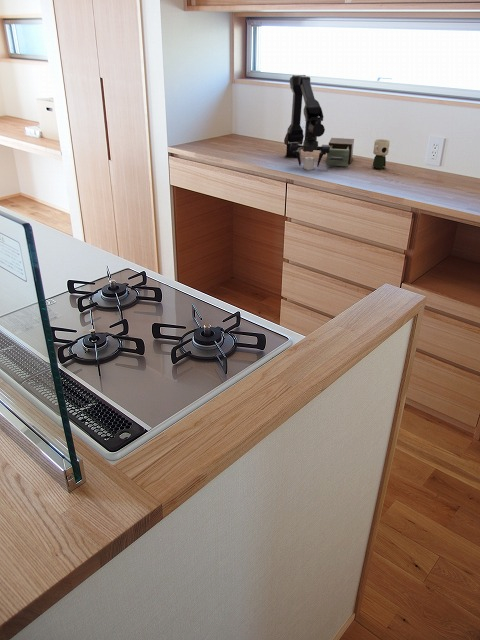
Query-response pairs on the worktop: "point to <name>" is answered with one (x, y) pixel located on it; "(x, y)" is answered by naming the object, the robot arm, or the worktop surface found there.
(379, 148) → the toy figurine
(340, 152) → the drawer
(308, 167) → the tissue roll
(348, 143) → the cabinet
